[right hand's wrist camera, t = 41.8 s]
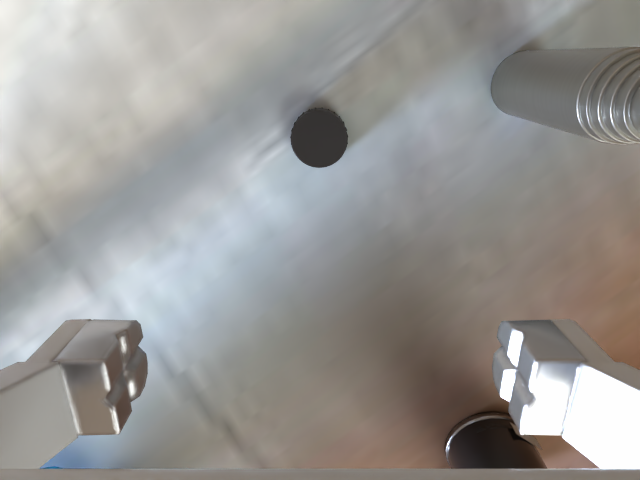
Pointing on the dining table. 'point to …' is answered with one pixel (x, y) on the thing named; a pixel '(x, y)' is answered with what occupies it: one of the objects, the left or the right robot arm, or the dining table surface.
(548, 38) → the dining table surface
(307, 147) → the cap
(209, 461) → the dining table surface
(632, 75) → the bottle
